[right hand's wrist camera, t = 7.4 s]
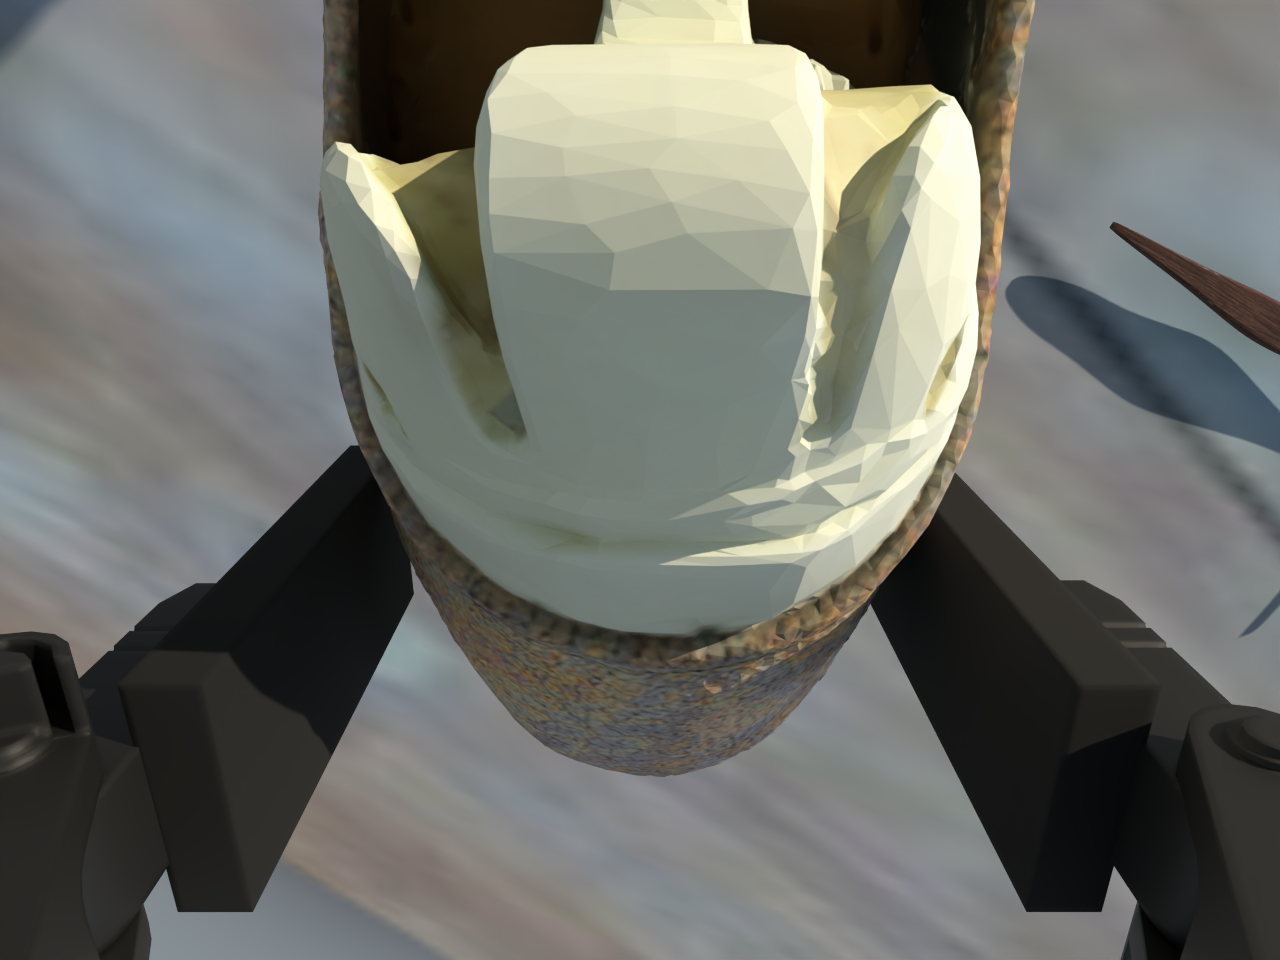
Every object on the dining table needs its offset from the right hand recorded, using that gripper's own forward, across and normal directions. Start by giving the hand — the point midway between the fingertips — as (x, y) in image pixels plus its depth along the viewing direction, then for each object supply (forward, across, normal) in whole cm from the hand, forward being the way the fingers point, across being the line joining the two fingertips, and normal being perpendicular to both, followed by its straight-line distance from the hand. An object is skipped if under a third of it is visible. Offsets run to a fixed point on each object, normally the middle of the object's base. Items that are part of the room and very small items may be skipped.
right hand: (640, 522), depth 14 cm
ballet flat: (0, 0, -8) cm, 8 cm away
